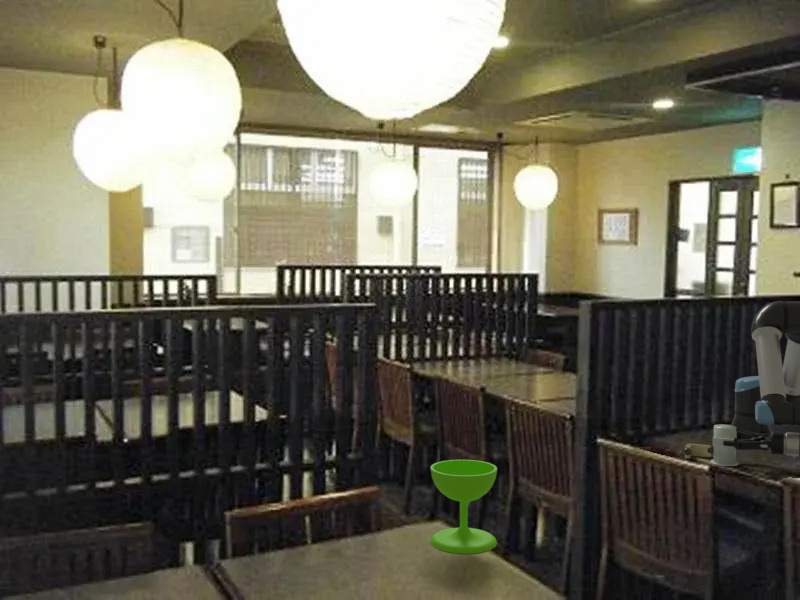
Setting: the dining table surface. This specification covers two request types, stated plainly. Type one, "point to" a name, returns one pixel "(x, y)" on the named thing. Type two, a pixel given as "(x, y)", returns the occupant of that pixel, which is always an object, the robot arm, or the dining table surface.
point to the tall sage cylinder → (724, 453)
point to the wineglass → (463, 503)
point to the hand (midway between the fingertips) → (714, 437)
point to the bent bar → (698, 450)
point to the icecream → (659, 450)
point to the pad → (723, 464)
